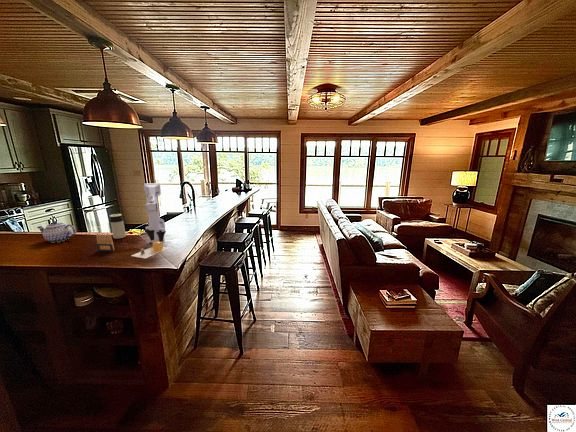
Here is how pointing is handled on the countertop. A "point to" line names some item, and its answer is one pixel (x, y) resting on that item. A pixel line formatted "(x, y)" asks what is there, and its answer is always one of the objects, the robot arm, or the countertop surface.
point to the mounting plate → (147, 252)
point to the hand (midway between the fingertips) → (156, 240)
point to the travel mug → (117, 226)
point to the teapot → (57, 232)
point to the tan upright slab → (105, 243)
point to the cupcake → (157, 246)
